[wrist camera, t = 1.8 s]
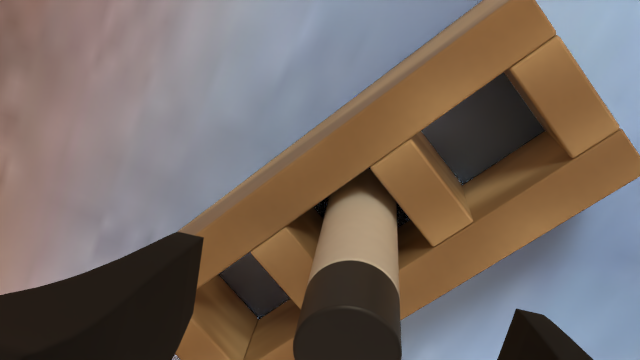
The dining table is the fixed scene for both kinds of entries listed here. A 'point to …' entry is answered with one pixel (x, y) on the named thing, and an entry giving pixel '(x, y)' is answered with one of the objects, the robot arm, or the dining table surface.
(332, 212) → the marker
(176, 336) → the robot arm
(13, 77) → the dining table surface
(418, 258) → the pen block
